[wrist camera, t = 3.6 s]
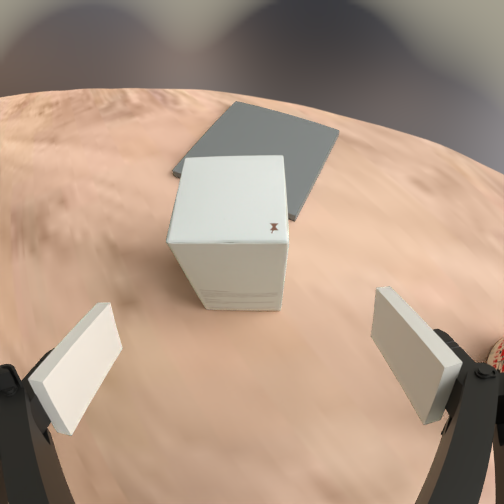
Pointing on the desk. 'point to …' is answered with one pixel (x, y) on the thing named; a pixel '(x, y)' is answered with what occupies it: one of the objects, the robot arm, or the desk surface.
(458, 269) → the desk surface
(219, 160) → the supplement box
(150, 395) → the desk surface
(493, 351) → the teacup with lid
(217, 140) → the slate mat
